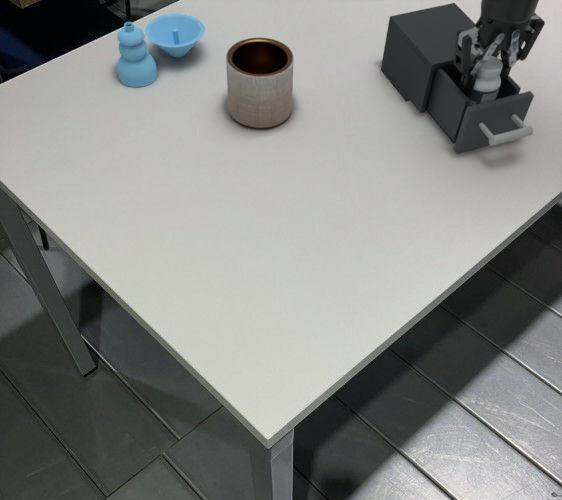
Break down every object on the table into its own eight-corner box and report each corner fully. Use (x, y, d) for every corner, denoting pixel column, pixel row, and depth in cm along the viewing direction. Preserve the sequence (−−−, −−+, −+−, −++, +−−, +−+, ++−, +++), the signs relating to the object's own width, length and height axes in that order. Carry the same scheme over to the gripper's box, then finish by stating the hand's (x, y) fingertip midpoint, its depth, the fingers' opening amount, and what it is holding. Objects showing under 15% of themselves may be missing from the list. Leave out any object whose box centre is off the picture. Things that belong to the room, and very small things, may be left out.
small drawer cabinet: (482, 102, 108) (500, 48, 100) (419, 117, 106) (432, 64, 97) (441, 55, 115) (454, 2, 107) (380, 69, 113) (389, 16, 104)
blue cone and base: (180, 30, 117) (174, -20, 110) (218, 54, 114) (215, 3, 106) (104, 70, 110) (92, 19, 103) (142, 97, 107) (132, 46, 99)
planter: (218, 99, 107) (215, 45, 99) (276, 84, 110) (277, 30, 101) (242, 137, 102) (241, 83, 94) (302, 121, 104) (305, 67, 96)
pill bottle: (451, 107, 103) (465, 56, 95) (478, 100, 104) (494, 49, 96) (467, 127, 100) (483, 76, 93) (495, 119, 101) (513, 68, 94)
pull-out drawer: (533, 155, 100) (552, 113, 93) (472, 172, 97) (487, 130, 91) (474, 90, 108) (487, 47, 102) (416, 104, 106) (427, 61, 99)
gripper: (487, -1, 80) (453, 113, 95) (578, -21, 83) (532, 93, 98) (457, -29, 84) (429, 85, 99) (546, -47, 87) (506, 67, 102)
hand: (481, 89), depth 98 cm, fingers closed on pill bottle, 5 cm apart
